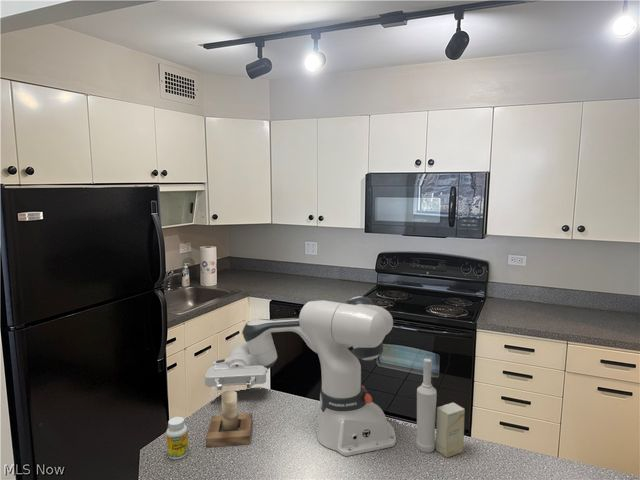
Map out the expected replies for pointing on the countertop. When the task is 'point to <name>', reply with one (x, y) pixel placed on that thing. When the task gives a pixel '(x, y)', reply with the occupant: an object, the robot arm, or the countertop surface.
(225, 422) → the dowel
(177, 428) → the supplement bottle
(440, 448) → the skincare box
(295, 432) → the countertop surface
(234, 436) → the socket block
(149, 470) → the countertop surface
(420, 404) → the bottle
